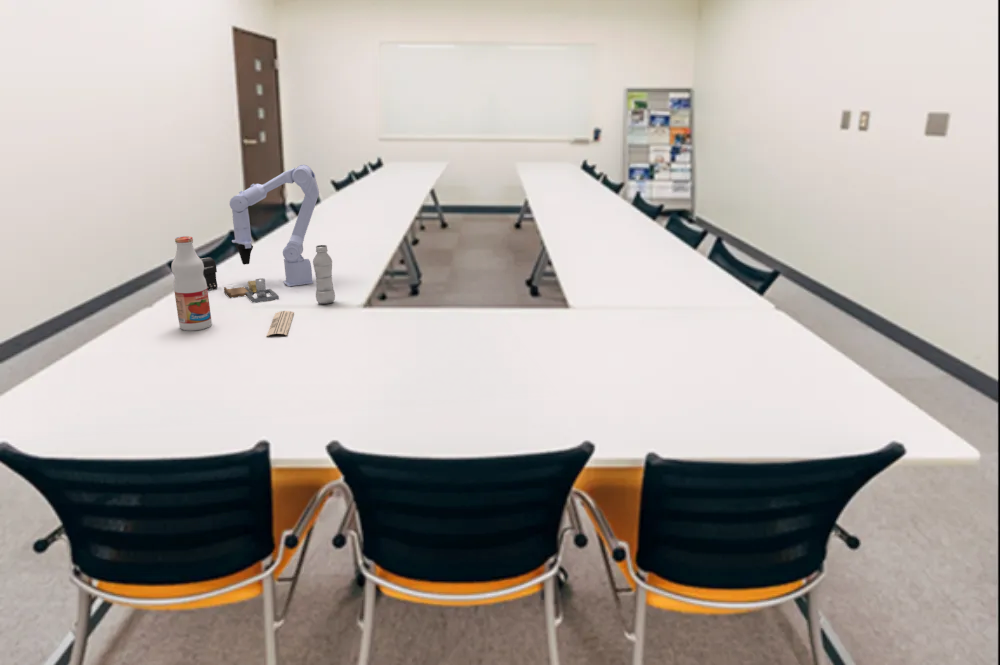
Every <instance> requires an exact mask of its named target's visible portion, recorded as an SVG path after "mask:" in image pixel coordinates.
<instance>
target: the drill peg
mask: <svg viewBox="0 0 1000 665" xmlns="http://www.w3.org/2000/svg"><path fill="white" fill-rule="evenodd" d="M254 281H255V282H256V291H257V292H256V298H262V297H268V296H267V293H266V289H267V287H266V279H265V278H261V277H259V278H255V280H254Z"/></svg>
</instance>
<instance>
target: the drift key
mask: <svg viewBox="0 0 1000 665" xmlns="http://www.w3.org/2000/svg"><path fill="white" fill-rule="evenodd" d="M247 284H248V286H247V287H248V288H249V289H250V290H251V291H253V293H257V291H256V282H255V280H251V281H250V280H248V281H247Z"/></svg>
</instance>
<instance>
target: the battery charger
mask: <svg viewBox="0 0 1000 665" xmlns="http://www.w3.org/2000/svg"><path fill="white" fill-rule="evenodd" d="M200 259H201V260H202V262H203V264H204V271H203V275H204V277H205V279H206V283H207V290H208V291H210V289H211V290H215V289H218V282H217V273H218V271H217V269H218V268H217V263H216V260H215V259H213V258H212V257H204V258H200Z"/></svg>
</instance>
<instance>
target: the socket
mask: <svg viewBox="0 0 1000 665" xmlns="http://www.w3.org/2000/svg"><path fill="white" fill-rule="evenodd" d="M244 288H245V289H247V290H248V291H249V292H245V294H246V296H247V297H248V298H249V299H250V300H251V301H252V302H256V303H261V302H260V301H263V302H268V301H267V300H270V301H275V300H274V299H277V300H280V296H279V295H278V293H276V292H275V291H274V290H272V289H271V288H266V294H269V293H270V294H271V295H272V296H271V295H270V294H269V295H270V296H269V295H268V296H267V297H262V298H257V297H254V292H253V291H251V290H250V289H249V286H245V287H244ZM246 296H245V297H246ZM247 297H246V298H247ZM248 298H247V299H248ZM249 299H248V300H249ZM250 300H249V301H250ZM251 301H250V302H251Z"/></svg>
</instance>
